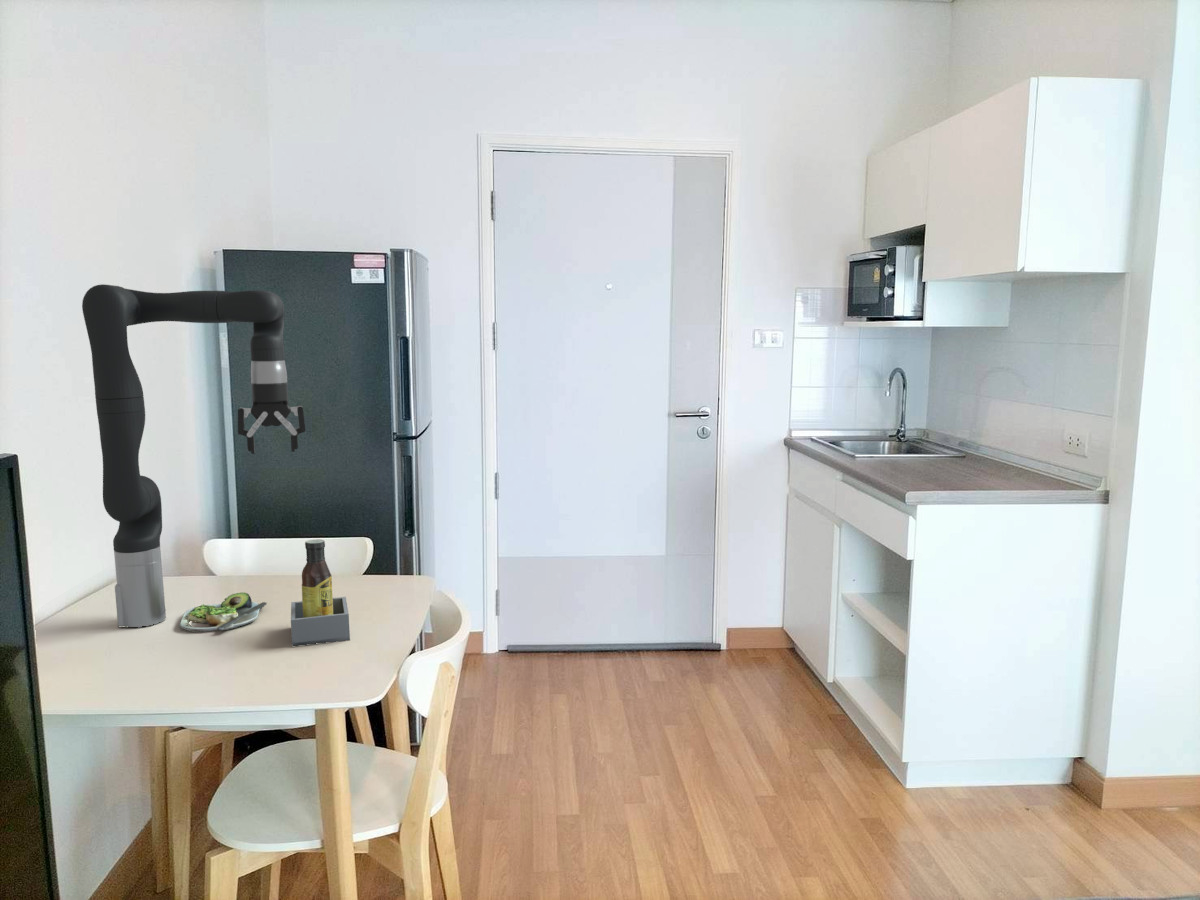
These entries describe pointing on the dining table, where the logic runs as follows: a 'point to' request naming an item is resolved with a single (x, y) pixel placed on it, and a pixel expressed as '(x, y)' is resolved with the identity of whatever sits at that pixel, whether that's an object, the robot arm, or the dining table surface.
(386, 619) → the dining table surface
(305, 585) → the sauce bottle
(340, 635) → the bottle caddy
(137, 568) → the robot arm
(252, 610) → the salad plate
